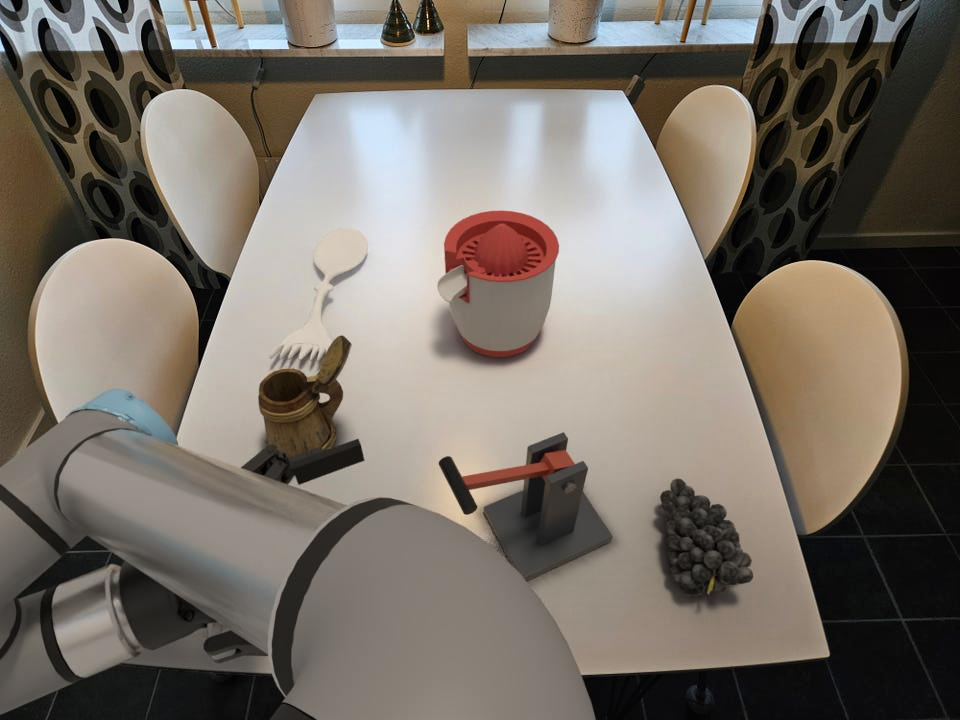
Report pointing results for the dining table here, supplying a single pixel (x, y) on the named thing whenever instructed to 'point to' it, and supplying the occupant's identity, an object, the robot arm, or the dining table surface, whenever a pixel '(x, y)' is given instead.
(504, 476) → the lever
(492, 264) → the citrus juicer
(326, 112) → the dining table surface
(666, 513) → the fruit
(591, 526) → the bracket
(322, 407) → the wooden mug
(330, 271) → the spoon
